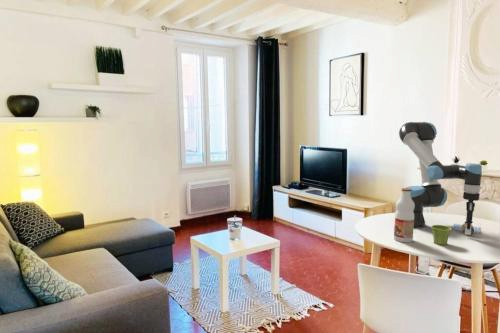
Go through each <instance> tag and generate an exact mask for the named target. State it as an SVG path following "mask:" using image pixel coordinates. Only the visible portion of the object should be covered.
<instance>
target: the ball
mask: <svg viewBox="0 0 500 333" xmlns="http://www.w3.org/2000/svg"><path fill="white" fill-rule="evenodd" d="M472 226H473V225H472ZM472 226H471V235H470V236H472V235H474V228H473V227H472ZM465 227H466V226H465ZM465 227H464V228H463V231H462V232H463V234H464V235H465Z"/></svg>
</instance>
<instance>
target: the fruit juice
mask: <svg viewBox="0 0 500 333" xmlns="http://www.w3.org/2000/svg"><path fill="white" fill-rule="evenodd" d="M400 190H401V191H400V192H401V195H400V197H399V199H398V200H397V201H396V203H395V206H396V211H395V213H394V227H393V228H394V229H393V231H394V232H393V239H394V240H395V241H397V242H399V243H400V242H401V243H412V242H413V240H414V212H413V210H414V208H415V204H414V202H413V200H412V199H411V189H410V188H406V187H402V188H401V189H400Z"/></svg>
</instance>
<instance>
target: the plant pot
mask: <svg viewBox="0 0 500 333" xmlns="http://www.w3.org/2000/svg"><path fill="white" fill-rule="evenodd" d="M431 230H432V238H433V239H432V240H433V244H435V245H440V246H446V245H448V241H449V237H450V233H451V231H452V227H451V226H448V225H442V224H433V225H431Z"/></svg>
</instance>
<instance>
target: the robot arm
mask: <svg viewBox="0 0 500 333" xmlns="http://www.w3.org/2000/svg"><path fill="white" fill-rule="evenodd" d="M398 131H399V132H398V135H399V138H400V141H401V143H403V144H404V145H405V146H407V147H408V148H409V149H410V150H411V151H412V152H413V154H414V155H415V156H416V157H417V158H418V160H419V162H418V163H419V169H420V174H421V181H422V183H421V185H410V186H405V188H410V189H411V199H412V200H413V202H414V204H415V208H414V210H413V212H414V228H416V229H417V228H420V229H421V228H424V227H426V220H425V217H424V208H438V207H442V206H444V205H445V204H446V202H447V199H448V192H447V190H446V189H445V188H443V187H442V184H441V183H440V182H439V180H455V179H457V180H463V181H464V182H463V183H464V184H463V194H462V195H463V196H462V198H463V199H464V200H465V201H466V203H465V205H466V208H465V210H466V217H465V220H466V221H464V223H466V227H465V234H464V235H465V236H472V235H471V226H473V224H472V223H474V221H473V213H474V212H475V206H476V203H475V202H476V201H480V192H481V189H482V186H481V185H482V184H481V182H482V176H483V175H482V173H483V170H482V169H483V166H482V164H481V163H466V165H461V164H457V163H456V164H450V165H443V164H442V162H441V161H440V160H439V159H438V158H437V157H436V155H434V152H433V146H432V145H433V143H434V140H435V139H436V137H437V136H436V135H437V133H438V132H437V128H436V126H435V125H434V124H433V123H431V122H427V121H423V122H422V121H417V122H416V121H410V122H406V123H403V125H402V126H401V127H400V129H399V130H398ZM414 228H413V229H414Z"/></svg>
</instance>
